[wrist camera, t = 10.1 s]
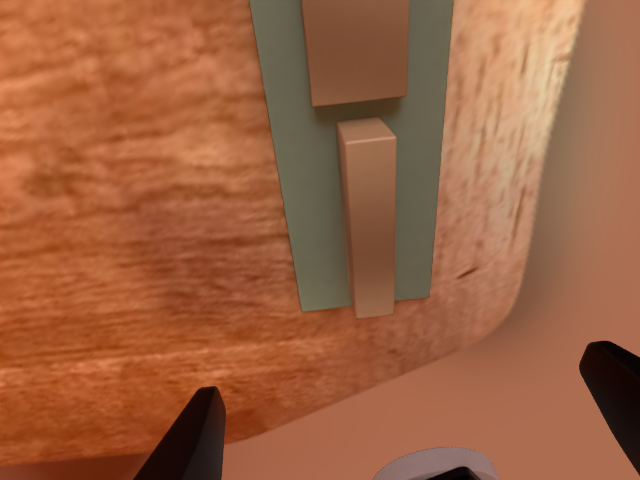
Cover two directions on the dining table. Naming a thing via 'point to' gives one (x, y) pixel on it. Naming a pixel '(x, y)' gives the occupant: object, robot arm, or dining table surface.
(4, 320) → the dining table surface
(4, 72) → the dining table surface
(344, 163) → the beige slabs
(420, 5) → the mat
